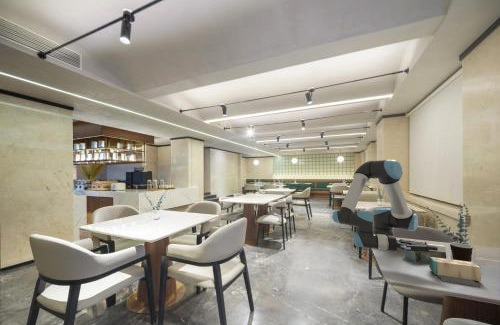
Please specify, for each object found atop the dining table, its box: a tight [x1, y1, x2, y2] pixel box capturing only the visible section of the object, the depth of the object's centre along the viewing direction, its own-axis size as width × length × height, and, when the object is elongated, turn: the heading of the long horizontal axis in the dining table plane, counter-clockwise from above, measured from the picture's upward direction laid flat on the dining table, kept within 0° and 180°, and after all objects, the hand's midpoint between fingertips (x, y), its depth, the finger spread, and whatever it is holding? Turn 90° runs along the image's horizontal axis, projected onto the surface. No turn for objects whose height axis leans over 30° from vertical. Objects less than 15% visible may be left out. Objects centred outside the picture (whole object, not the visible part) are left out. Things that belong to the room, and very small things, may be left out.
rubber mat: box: [429, 265, 480, 288], centre depth 98 cm, size 16×12×1 cm
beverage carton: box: [403, 249, 447, 264], centre depth 117 cm, size 8×19×7 cm, turn 96°
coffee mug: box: [449, 242, 474, 262], centre depth 112 cm, size 12×9×10 cm
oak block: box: [429, 257, 482, 282], centre depth 98 cm, size 6×6×16 cm
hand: (444, 248), depth 99 cm, fingers closed
